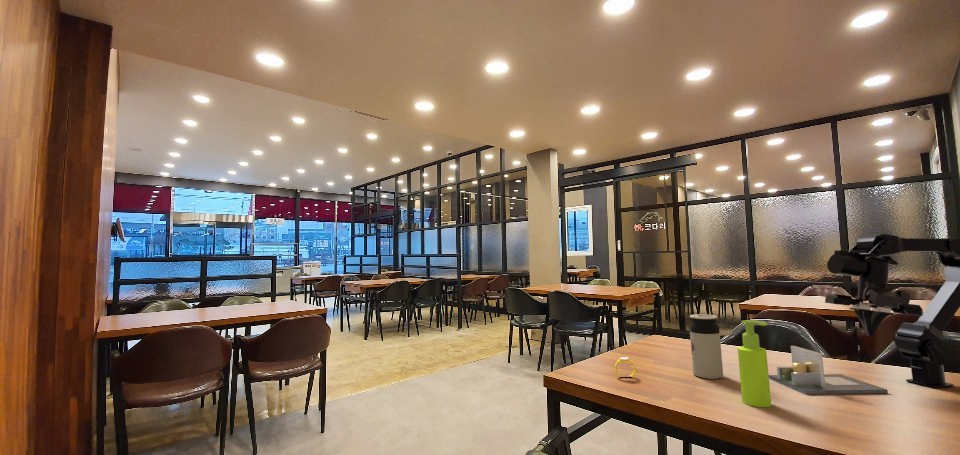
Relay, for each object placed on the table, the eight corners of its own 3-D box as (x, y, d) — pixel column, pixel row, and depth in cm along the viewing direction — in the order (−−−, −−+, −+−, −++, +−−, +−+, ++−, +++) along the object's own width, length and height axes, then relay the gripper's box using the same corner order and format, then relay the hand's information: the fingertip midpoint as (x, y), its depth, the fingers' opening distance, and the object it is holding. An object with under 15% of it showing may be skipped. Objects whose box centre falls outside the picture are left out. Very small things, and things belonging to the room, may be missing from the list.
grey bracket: (797, 375, 113) (794, 345, 114) (825, 386, 103) (822, 353, 104) (773, 376, 114) (770, 346, 114) (799, 387, 104) (796, 354, 104)
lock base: (841, 377, 114) (838, 356, 115) (888, 393, 100) (885, 369, 101) (769, 378, 115) (767, 357, 116) (805, 394, 102) (803, 370, 102)
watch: (617, 379, 120) (614, 359, 121) (615, 377, 123) (612, 357, 123) (637, 378, 119) (634, 358, 120) (635, 376, 122) (632, 356, 123)
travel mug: (723, 374, 121) (718, 314, 123) (723, 381, 115) (717, 318, 116) (694, 371, 126) (689, 313, 127) (692, 377, 119) (687, 316, 120)
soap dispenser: (767, 410, 92) (759, 323, 94) (737, 401, 98) (730, 320, 100) (781, 405, 95) (773, 321, 96) (750, 397, 101) (743, 317, 103)
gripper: (845, 273, 105) (841, 332, 104) (939, 284, 99) (936, 347, 97) (826, 274, 116) (822, 327, 115) (910, 284, 109) (906, 341, 108)
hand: (869, 335), depth 108 cm, fingers closed
